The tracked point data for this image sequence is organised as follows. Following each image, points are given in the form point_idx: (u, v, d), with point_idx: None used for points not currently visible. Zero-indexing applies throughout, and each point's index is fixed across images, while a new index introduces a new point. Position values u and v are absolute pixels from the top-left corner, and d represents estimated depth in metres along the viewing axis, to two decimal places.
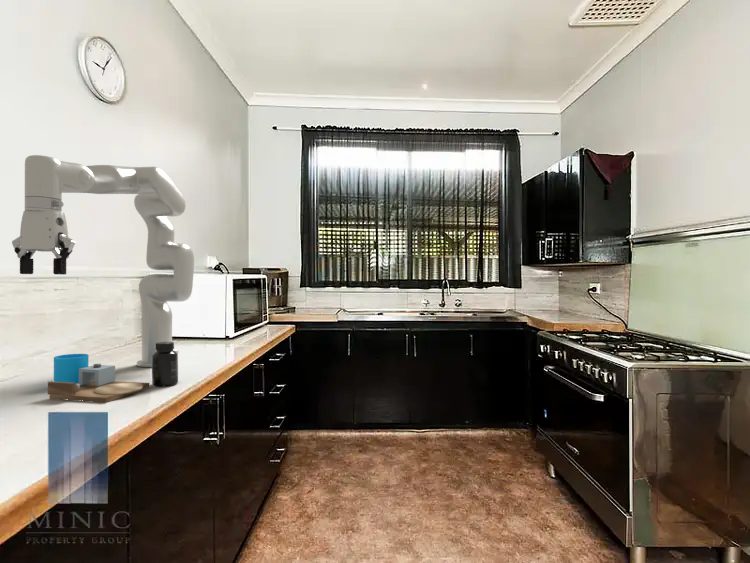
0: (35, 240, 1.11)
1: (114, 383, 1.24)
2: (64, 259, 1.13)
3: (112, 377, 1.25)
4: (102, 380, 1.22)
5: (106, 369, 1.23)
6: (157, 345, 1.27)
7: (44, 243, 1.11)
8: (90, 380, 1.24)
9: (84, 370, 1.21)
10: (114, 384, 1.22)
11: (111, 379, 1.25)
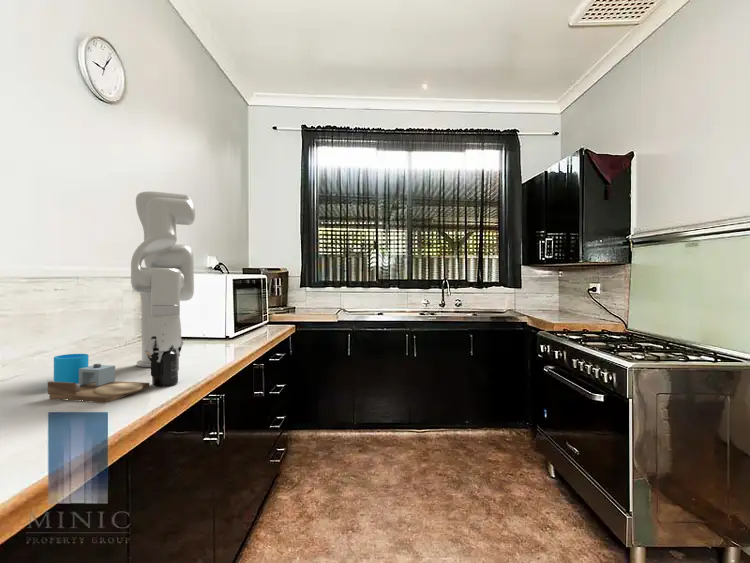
0: (172, 342, 1.29)
1: (114, 383, 1.24)
2: None
3: (112, 377, 1.25)
4: (102, 380, 1.22)
5: (106, 369, 1.23)
6: None
7: (177, 343, 1.31)
8: (90, 380, 1.24)
9: (84, 370, 1.21)
10: (114, 384, 1.22)
11: (111, 379, 1.25)
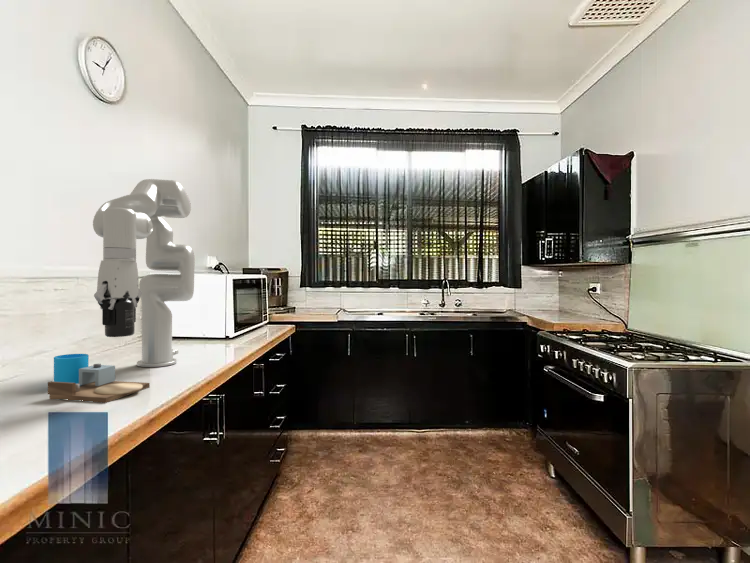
0: (127, 289, 1.18)
1: (114, 383, 1.24)
2: None
3: (112, 377, 1.25)
4: (102, 380, 1.22)
5: (106, 369, 1.23)
6: None
7: (133, 292, 1.20)
8: (90, 380, 1.24)
9: (84, 370, 1.21)
10: (114, 384, 1.22)
11: (111, 379, 1.25)
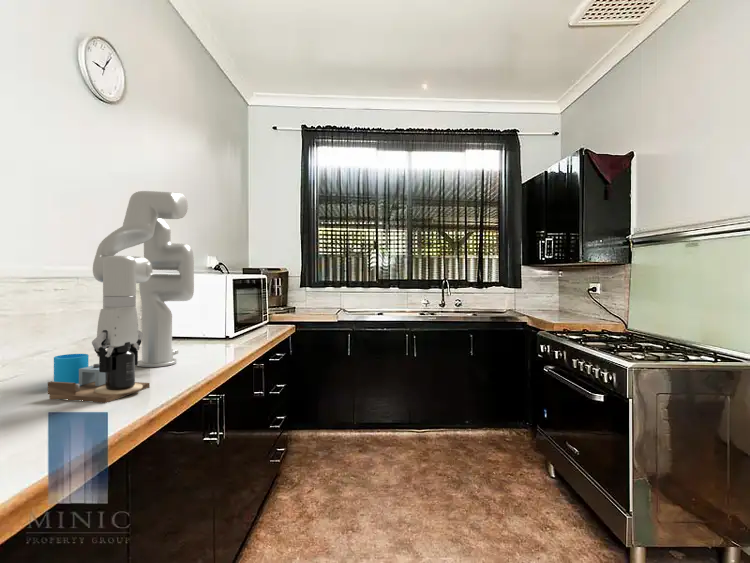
0: (127, 336, 1.18)
1: None
2: None
3: None
4: (102, 380, 1.22)
5: None
6: None
7: (133, 338, 1.20)
8: (90, 380, 1.24)
9: (84, 370, 1.21)
10: None
11: None
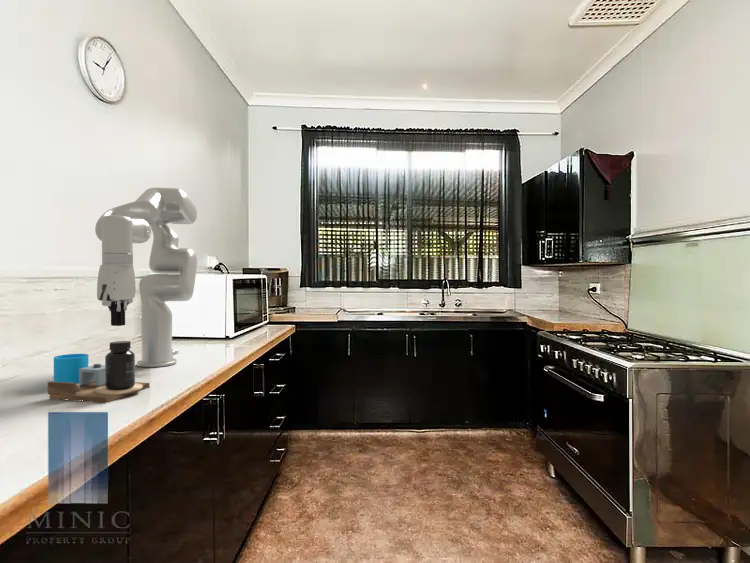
0: (125, 291, 1.26)
1: None
2: None
3: None
4: (102, 380, 1.22)
5: None
6: (111, 345, 1.16)
7: (131, 294, 1.28)
8: (90, 380, 1.24)
9: (84, 370, 1.21)
10: None
11: None
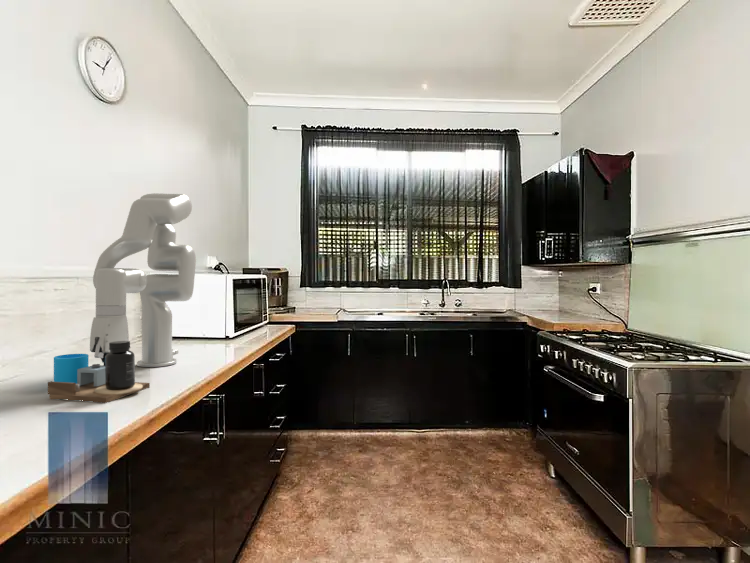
0: None
1: None
2: None
3: None
4: (101, 381, 1.21)
5: None
6: (111, 345, 1.16)
7: None
8: (89, 380, 1.23)
9: (82, 370, 1.20)
10: None
11: None
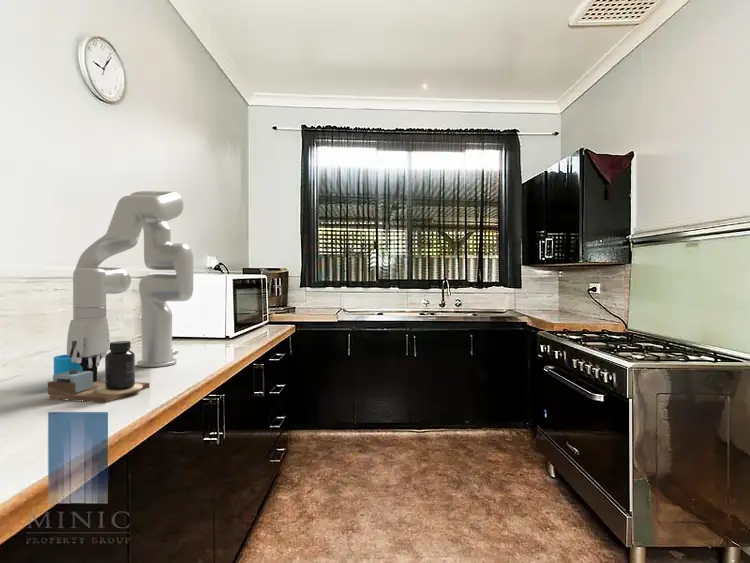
0: (97, 346, 1.21)
1: None
2: None
3: (89, 384, 1.17)
4: (78, 387, 1.14)
5: (83, 375, 1.15)
6: (111, 345, 1.16)
7: (104, 348, 1.23)
8: None
9: (58, 376, 1.13)
10: None
11: (89, 385, 1.17)
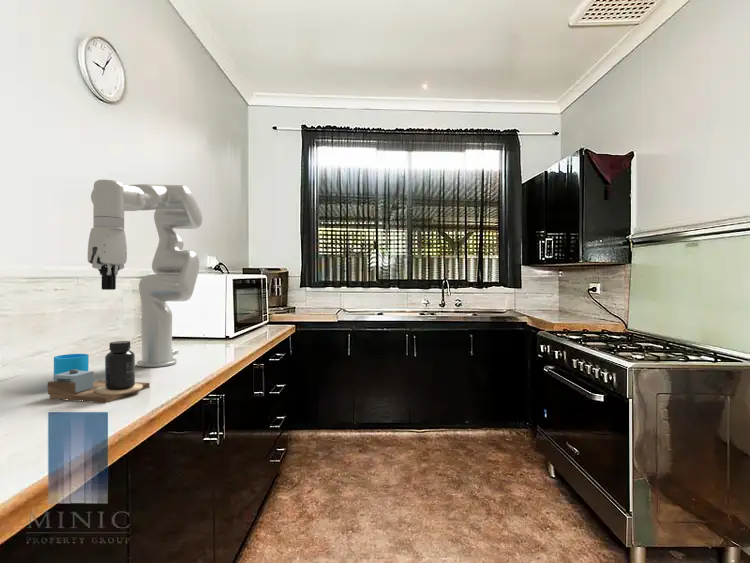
0: (116, 255, 1.27)
1: None
2: None
3: (90, 383, 1.18)
4: (79, 387, 1.14)
5: (83, 375, 1.15)
6: (111, 345, 1.16)
7: (122, 259, 1.30)
8: None
9: (59, 376, 1.13)
10: None
11: (89, 385, 1.17)
